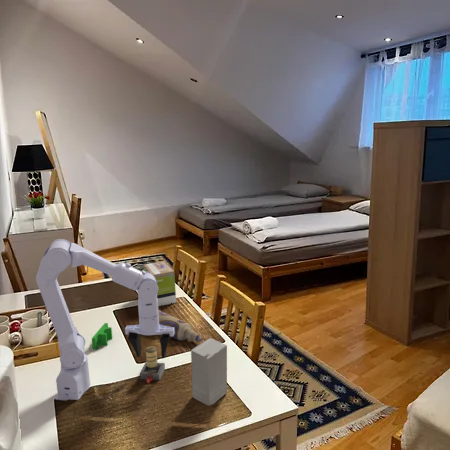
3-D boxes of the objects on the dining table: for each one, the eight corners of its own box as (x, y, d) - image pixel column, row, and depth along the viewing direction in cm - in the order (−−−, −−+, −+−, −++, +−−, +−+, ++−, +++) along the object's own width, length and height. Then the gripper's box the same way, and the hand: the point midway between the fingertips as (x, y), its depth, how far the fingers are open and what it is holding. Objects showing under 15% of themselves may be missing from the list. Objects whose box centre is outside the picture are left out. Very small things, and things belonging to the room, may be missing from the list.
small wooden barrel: (155, 367, 125) (154, 352, 124) (145, 367, 125) (144, 351, 124) (158, 361, 128) (157, 346, 127) (148, 361, 129) (147, 345, 127)
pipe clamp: (103, 350, 143) (102, 338, 142) (92, 350, 143) (91, 338, 142) (115, 334, 154) (114, 323, 152) (105, 334, 154) (104, 322, 153)
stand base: (164, 386, 122) (164, 378, 122) (131, 384, 123) (130, 376, 123) (172, 367, 132) (172, 359, 131) (142, 365, 133) (141, 358, 132)
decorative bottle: (145, 329, 157) (144, 312, 156) (161, 322, 163) (160, 306, 161) (192, 353, 140) (192, 334, 139) (208, 344, 146) (208, 326, 144)
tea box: (144, 295, 189) (142, 263, 185) (166, 290, 193) (164, 260, 189) (154, 307, 175) (151, 274, 172) (176, 303, 179) (175, 270, 176)
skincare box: (210, 385, 123) (209, 335, 119) (229, 394, 118) (228, 343, 114) (190, 399, 116) (188, 348, 112) (210, 410, 112) (208, 357, 108)
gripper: (176, 309, 126) (178, 350, 129) (129, 307, 128) (132, 347, 131) (170, 319, 119) (172, 362, 122) (121, 318, 121) (124, 360, 124)
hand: (151, 355), depth 126 cm, fingers open, 7 cm apart
